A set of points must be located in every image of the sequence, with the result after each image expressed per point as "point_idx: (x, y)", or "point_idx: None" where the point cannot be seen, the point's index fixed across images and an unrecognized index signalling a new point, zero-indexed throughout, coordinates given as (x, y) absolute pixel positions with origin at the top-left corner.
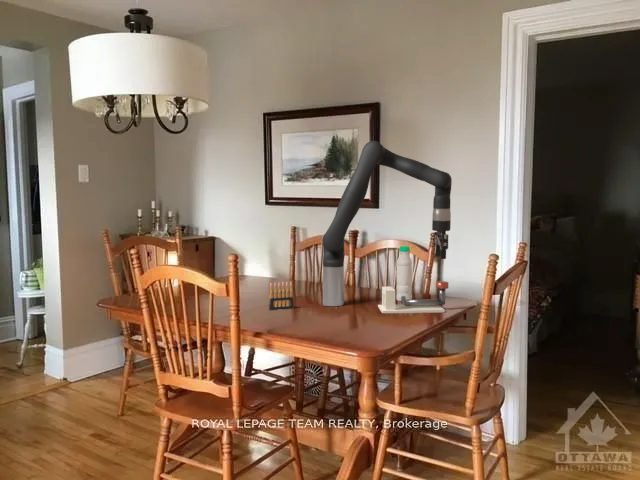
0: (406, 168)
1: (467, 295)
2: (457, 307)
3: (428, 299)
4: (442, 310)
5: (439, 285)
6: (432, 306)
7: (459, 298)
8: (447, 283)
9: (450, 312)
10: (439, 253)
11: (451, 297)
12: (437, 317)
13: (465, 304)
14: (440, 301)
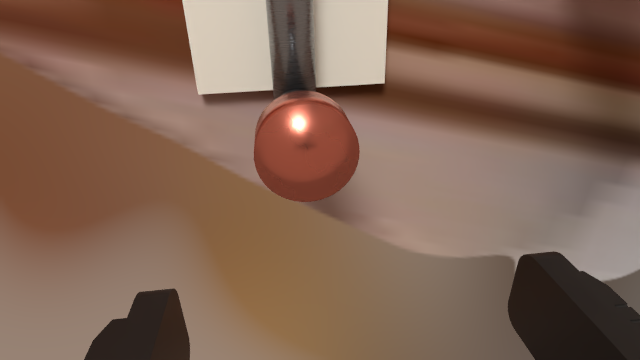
0: None
1: (600, 270)
2: None
3: (286, 8)
4: (196, 79)
5: (266, 116)
6: None
7: (547, 227)
8: (270, 187)
9: (204, 122)
10: (540, 339)
11: (582, 196)
12: (42, 14)
13: (404, 228)
14: (275, 91)
